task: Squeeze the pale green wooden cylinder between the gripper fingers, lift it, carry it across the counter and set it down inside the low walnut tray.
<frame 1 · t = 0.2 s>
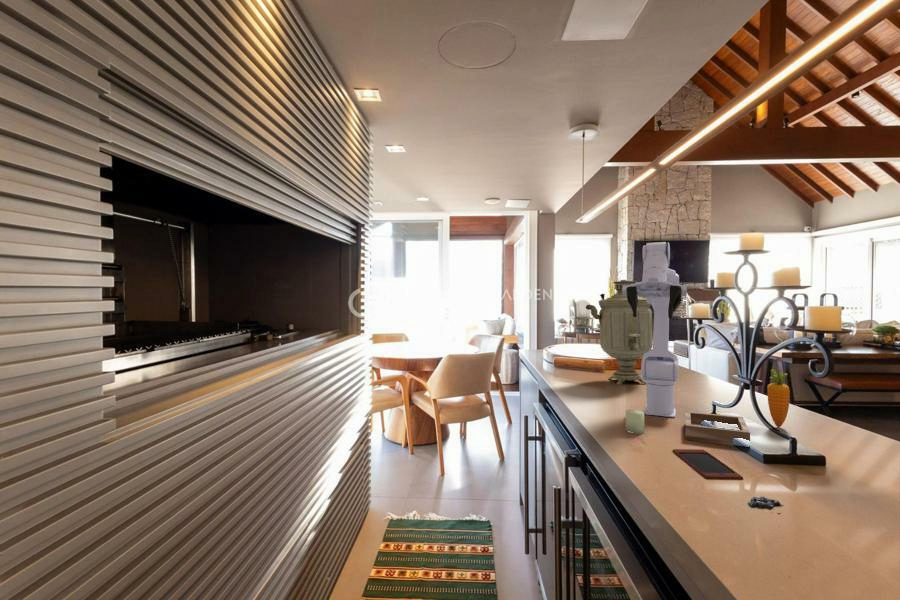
hand: (651, 314, 105), 30 cm above the worktop, tool tilted 45°, fingers open, 7 cm apart
walnut tray: (715, 435, 109), on the worktop
green cylinder: (635, 431, 113), on the worktop
samovar: (625, 383, 172), on the worktop
smartphone: (705, 466, 91), on the worktop
blueberries: (764, 509, 73), on the worktop
carrot: (778, 428, 115), on the worktop
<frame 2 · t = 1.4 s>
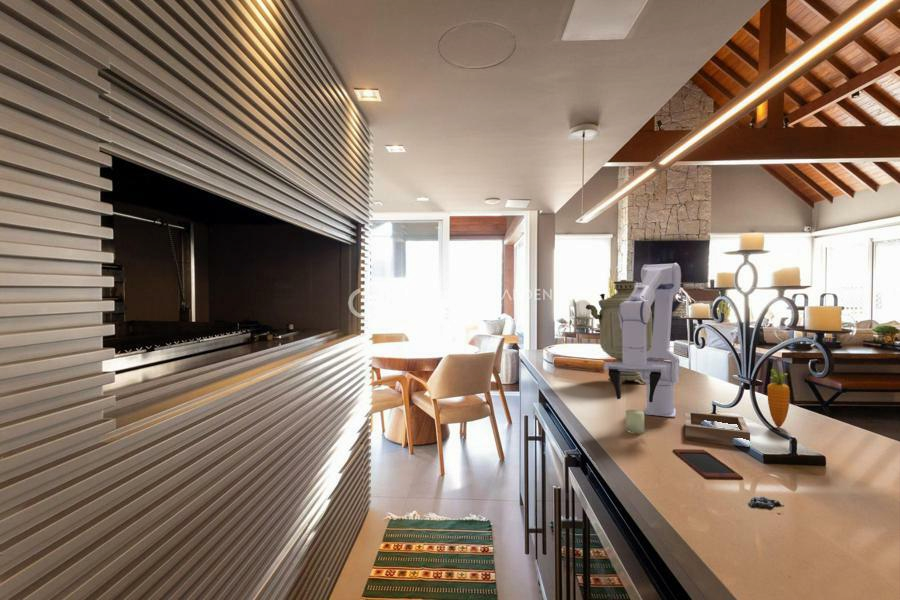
hand: (634, 399, 113), 8 cm above the worktop, tool pointing down, fingers open, 7 cm apart
nothing on the worktop moved.
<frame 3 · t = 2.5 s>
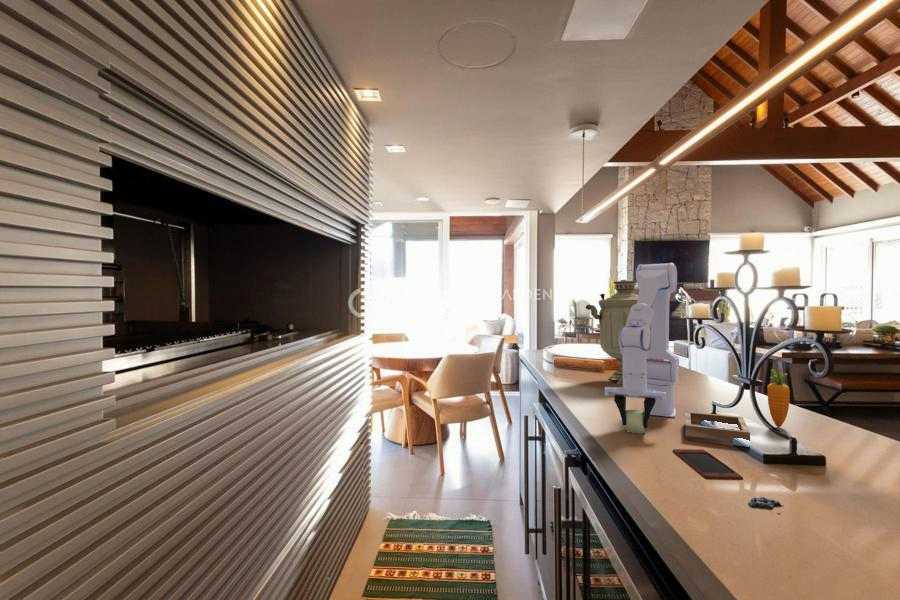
hand: (634, 425, 113), 1 cm above the worktop, tool pointing down, fingers closed on green cylinder, 4 cm apart
green cylinder: (635, 431, 113), on the worktop, touching gripper
everything else where it was.
when the fingers open (4 cm above the worktop, at t = 6.2 s): green cylinder drops 1 cm, resting on walnut tray.
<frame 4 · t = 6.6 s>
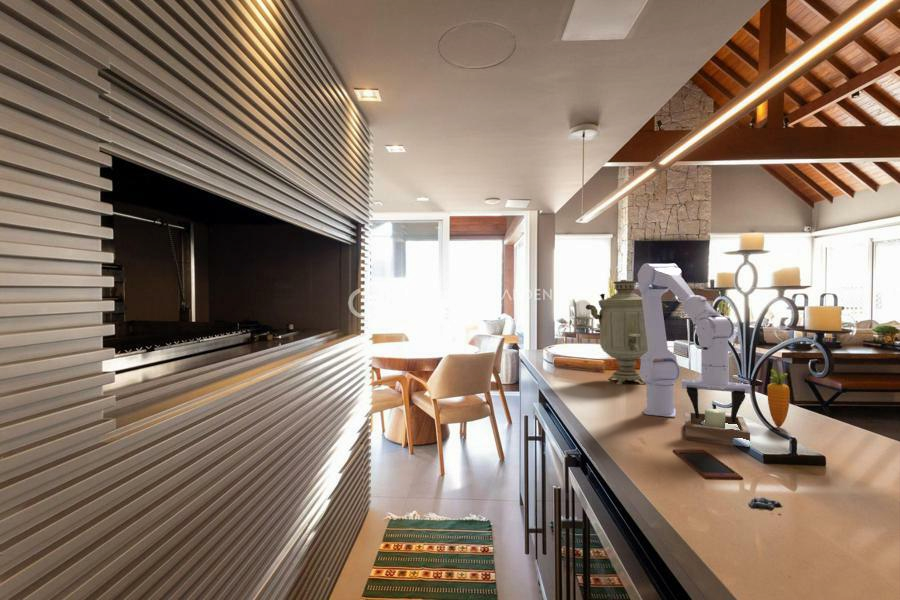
hand: (714, 419, 109), 4 cm above the worktop, tool pointing down, fingers open, 7 cm apart
green cylinder: (714, 431, 109), point 1 cm above the worktop, touching walnut tray
everything else where it was.
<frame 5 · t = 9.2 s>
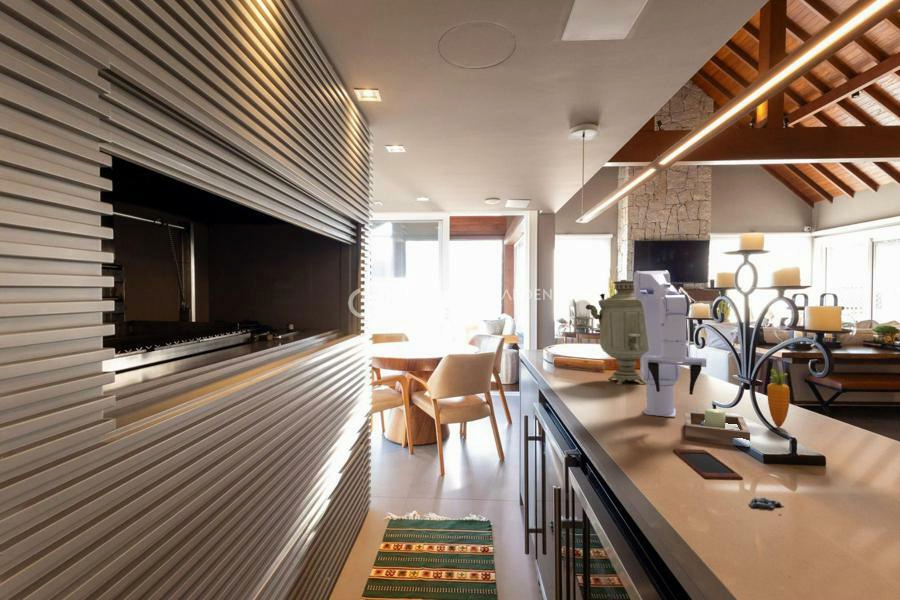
hand: (674, 392, 115), 9 cm above the worktop, tool pointing down, fingers open, 7 cm apart
nothing on the worktop moved.
at the end: green cylinder inside the target area on the walnut tray (0.1 cm from its centre), point 1.0 cm above the walnut tray's base; green cylinder tilted 0°; the gripper is holding nothing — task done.
